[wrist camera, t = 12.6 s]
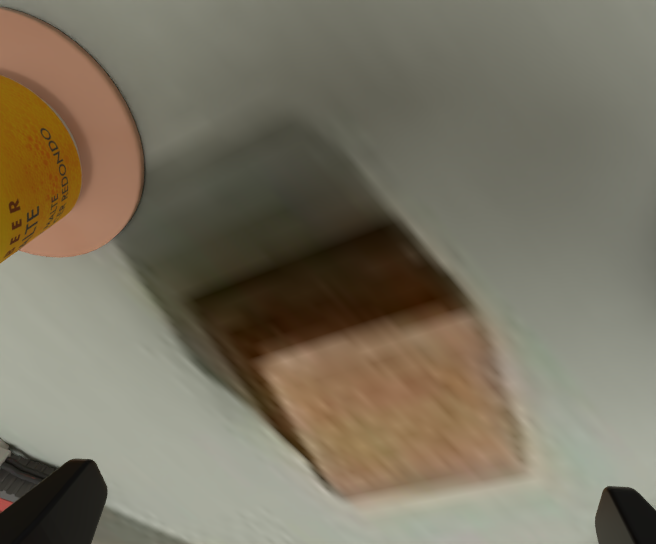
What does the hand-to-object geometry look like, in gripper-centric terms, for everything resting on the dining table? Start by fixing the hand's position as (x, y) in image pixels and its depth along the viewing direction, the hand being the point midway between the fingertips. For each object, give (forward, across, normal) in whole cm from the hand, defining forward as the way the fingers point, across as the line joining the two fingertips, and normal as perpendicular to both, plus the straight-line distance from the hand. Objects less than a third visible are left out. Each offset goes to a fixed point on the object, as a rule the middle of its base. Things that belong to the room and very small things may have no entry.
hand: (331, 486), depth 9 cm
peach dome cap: (+13, +14, -3) cm, 19 cm away
